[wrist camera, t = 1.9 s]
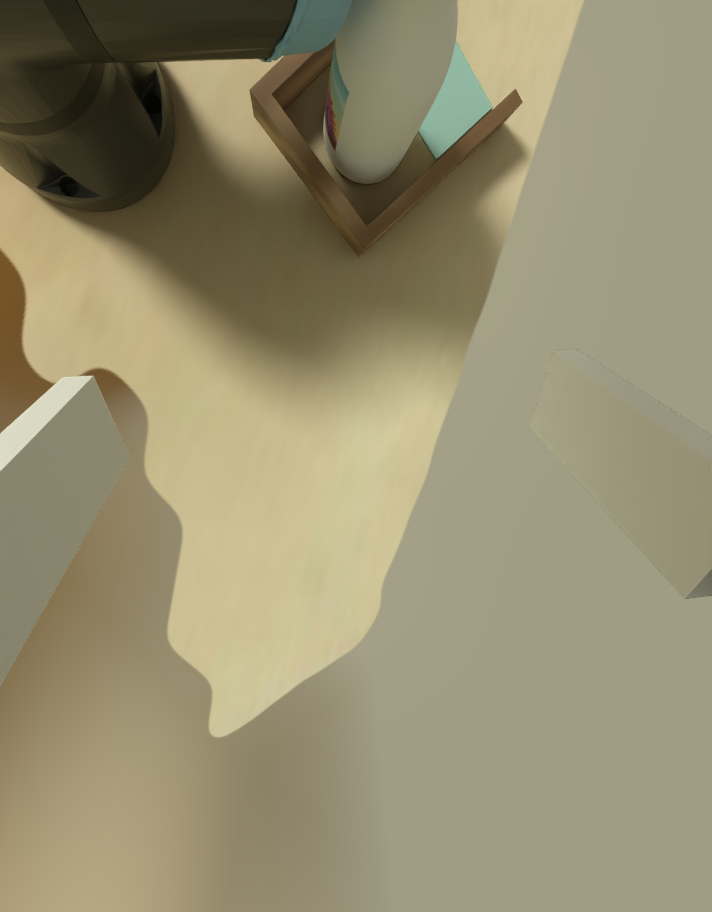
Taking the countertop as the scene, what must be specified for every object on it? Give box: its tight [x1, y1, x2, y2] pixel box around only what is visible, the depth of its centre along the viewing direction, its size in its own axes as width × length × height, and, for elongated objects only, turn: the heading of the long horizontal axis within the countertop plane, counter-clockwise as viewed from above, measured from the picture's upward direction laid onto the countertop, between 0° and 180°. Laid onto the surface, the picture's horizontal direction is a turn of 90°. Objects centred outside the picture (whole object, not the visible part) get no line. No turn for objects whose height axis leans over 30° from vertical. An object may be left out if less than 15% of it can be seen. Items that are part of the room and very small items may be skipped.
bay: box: [250, 39, 522, 256], centre depth 34 cm, size 14×18×4 cm
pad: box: [418, 41, 492, 160], centre depth 35 cm, size 11×7×1 cm, turn 41°
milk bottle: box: [323, 0, 457, 184], centre depth 26 cm, size 8×8×20 cm
